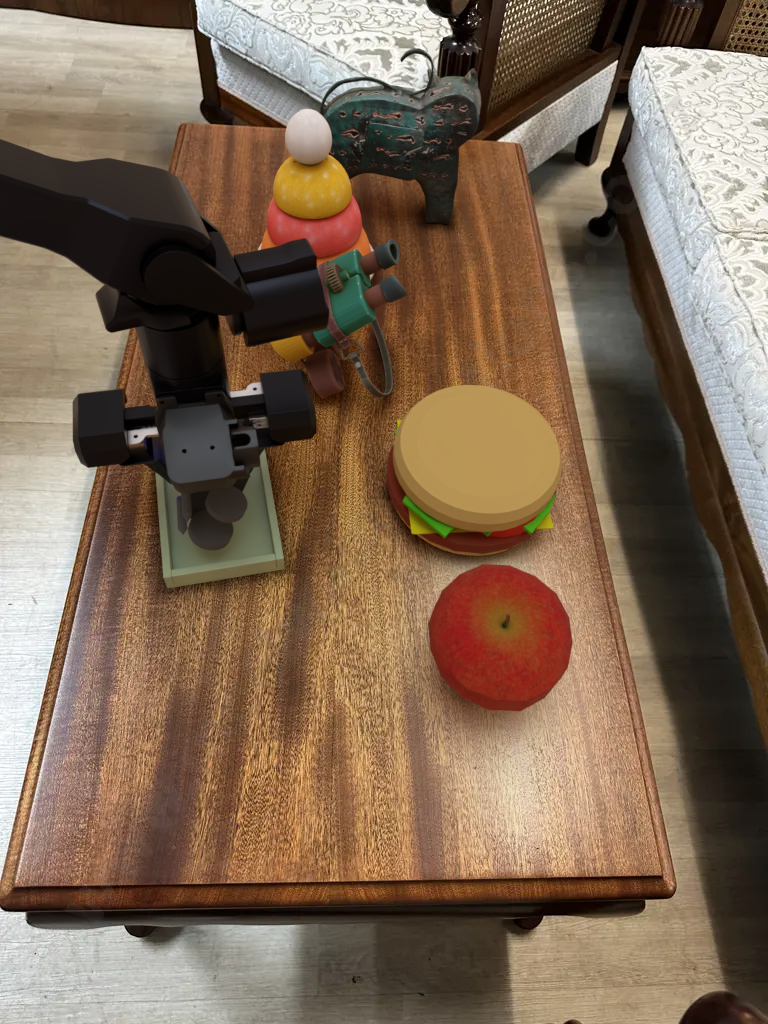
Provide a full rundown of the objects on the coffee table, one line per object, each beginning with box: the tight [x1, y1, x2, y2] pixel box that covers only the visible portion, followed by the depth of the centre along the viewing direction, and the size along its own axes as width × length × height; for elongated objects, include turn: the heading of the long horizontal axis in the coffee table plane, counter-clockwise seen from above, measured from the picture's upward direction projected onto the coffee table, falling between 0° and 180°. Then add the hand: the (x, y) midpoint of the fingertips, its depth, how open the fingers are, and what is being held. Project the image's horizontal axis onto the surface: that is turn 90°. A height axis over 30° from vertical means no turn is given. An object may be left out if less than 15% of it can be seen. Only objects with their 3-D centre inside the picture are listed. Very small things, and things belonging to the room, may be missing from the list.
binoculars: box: [270, 238, 409, 399], centre depth 73 cm, size 14×14×15 cm
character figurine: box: [176, 419, 249, 551], centre depth 64 cm, size 8×7×15 cm
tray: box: [154, 448, 286, 589], centre depth 68 cm, size 10×17×2 cm, turn 13°
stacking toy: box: [257, 108, 375, 281], centre depth 79 cm, size 14×14×20 cm
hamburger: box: [385, 384, 563, 557], centre depth 68 cm, size 16×16×8 cm
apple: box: [427, 563, 574, 712], centre depth 56 cm, size 11×11×12 cm
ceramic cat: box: [318, 47, 482, 225], centre depth 86 cm, size 20×6×20 cm, turn 89°
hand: (210, 475), depth 65 cm, fingers closed on character figurine, 6 cm apart
